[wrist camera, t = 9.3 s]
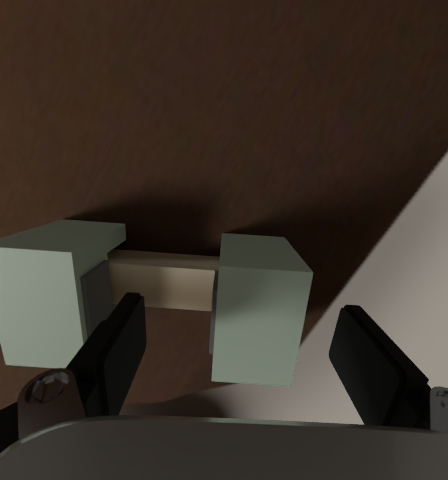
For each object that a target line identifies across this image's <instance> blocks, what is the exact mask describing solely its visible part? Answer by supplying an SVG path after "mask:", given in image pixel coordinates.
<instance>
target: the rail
mask: <svg viewBox="0 0 448 480" xmlns="http://www.w3.org/2000/svg"><path fill="white" fill-rule="evenodd" d="M107 258H108V262H109V275H110V287H111V299H112V304H118V303H119V302H120V300H121V299H122V298H123V296H124V295H125V294H126V293H127V292H135V293H140V295H141V296H144V302H145V306H146V307H160V308H174V309H188V310H202V311H211V309H212V291H213V283H214V275H215V270H217V271H219V260H220V257H216V256H202V255H188V254H174V253H160V252H146V251H132V250H118V249H112V250H111V251H109V252H108V253H107Z"/></svg>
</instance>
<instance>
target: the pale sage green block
mask: <svg viewBox="0 0 448 480" xmlns="http://www.w3.org/2000/svg"><path fill="white" fill-rule="evenodd" d="M312 277H313V271H312V270H311V269H310V268H309V267H308V265H307V264H306V263H305V262H304V260H303V259H302V258H301V257H300V256H299V254H298V253H297V252H296V251H295V250H294V248H293V247H292V246H291V245H290V243H289V242H288V241H287V240H286V239H285V237H274V236H259V235H244V234H229V233H222V239H221V249H220V260H219V271H217V270H215V275H214V283H213V291H212V309H211V327H210V344H209V354H213V367H212V381H218V382H234V383H250V384H264V385H280V386H292V381H293V376H294V370H295V365H296V360H297V355H298V350H299V345H300V339H301V334H302V329H303V324H304V319H305V314H306V308H307V303H308V298H309V293H310V288H311V282H312Z"/></svg>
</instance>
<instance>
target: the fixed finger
mask: <svg viewBox="0 0 448 480" xmlns="http://www.w3.org/2000/svg"><path fill="white" fill-rule="evenodd" d="M125 240H126V229H125V224H120V223H106V222H92V221H78V220H64V219H62V220H59V221H55V222H52V223H49V224H46V225H42V226H39V227H36V228H32V229H29V230H26V231H23V232H19V233H16V234H13V235H9V236H6V237H3V238H0V343H1V347H2V351H3V355H4V359H5V363H6V365H17V366H31V367H46V368H66V367H67V365H68V364H69V363H70V361H71V360H72V359H73V357H74V356H75V355H76V353H77V352H78V351H79V350H80V348H81V347H82V346H83V344H84V343H85V342H86V340H87V339H88V338H89V336H90V335H91V334H92V332H93V331H94V330H95V328H96V327H97V326H98V324H99V323H100V322H101V321H103V320H106V319H107V318H108V317H109V315H110V314H111V313H112V311H113V310H114V309H115V307H116V306H117V304H112V299H111V287H110V275H109V262H108V258H107V253H108V252H109V251H111V250H112V249H114V248H115V247H117V246H118V245H119V244H121V243H122V242H124V241H125Z"/></svg>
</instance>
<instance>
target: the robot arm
mask: <svg viewBox="0 0 448 480" xmlns="http://www.w3.org/2000/svg"><path fill="white" fill-rule="evenodd" d="M145 349H146V323H145V302H144V296H141V295H140V293H135V292H127V293H126V294H125V295H124V296H123V298H122V299H121V300H120V302H119V303H118V304H117V306H116V307H115V309H114V310H113V311H112V313H111V314H110V315H109V317H108V318H107V319H106V320H103V321H101V322H100V323H99V324H98V326H97V327H96V328H95V330H94V331H93V332H92V334H91V335H90V336H89V338H88V339H87V340H86V342H85V343H84V344H83V346H82V347H81V348H80V350H79V351H78V352H77V353H76V355H75V356H74V357H73V359H72V360H71V361H70V363H69V364H68V365H67V367H66V368H56V369H51V370H48V371H45V372H43V373H41V374H39V375H37V376H36V377H34V378H33V379H32V380H30V381H29V382H28V383H27V384H26V385H25V386H24V387H23V389H22V390H21V392H20V393H19V397H18V402H16V403H14V404H12V405H10V406H8V407H6V408H4V409H2V410H0V480H448V388H444V387H434V388H432V389H431V388H430V386H429V385H428V384H427V382H428V381H429V379H428V378H427V377H426V376H425V375H424V374H423V373H422V372H421V371H420V370H419V368H417V366H416V365H415V364H414V363H413V362H412V361H411V360H410V359H409V358H408V357H407V356H406V355H405V354H404V352H403V351H402V350H401V349H400V348H399V347H398V346H397V345H396V344H395V343H394V342H393V341H392V340H391V339H390V338H389V337H388V335H387V334H386V333H385V332H384V331H383V330H382V329H381V328H380V327H379V326H378V325H377V324H376V323H375V321H374V320H373V319H371V317H370V316H369V315H368V314H367V313H366V312H365V311H364V310H363V309H362V308H361V307H360V306H357V305H345V306H344V308H341V310H340V313H339V317H338V321H337V324H336V328H335V332H334V336H333V339H332V343H331V346H330V350H329V358H330V361H331V363H332V364H333V366H334V368H335V370H336V372H337V374H338V376H339V378H340V380H341V381H342V383H343V385H344V387H345V389H346V391H347V393H348V395H349V396H350V398H351V400H352V402H353V404H354V406H355V408H356V409H357V411H358V413H359V415H360V417H361V419H362V421H363V423H364V425H358V424H338V423H318V422H298V421H277V420H254V419H253V420H252V419H231V418H205V417H204V418H203V417H179V416H141V415H119V412H120V410H121V407H122V405H123V403H124V400H125V398H126V396H127V393H128V391H129V388H130V386H131V383H132V381H133V379H134V376H135V374H136V371H137V369H138V366H139V364H140V362H141V359H142V357H143V354H144V352H145Z"/></svg>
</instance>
